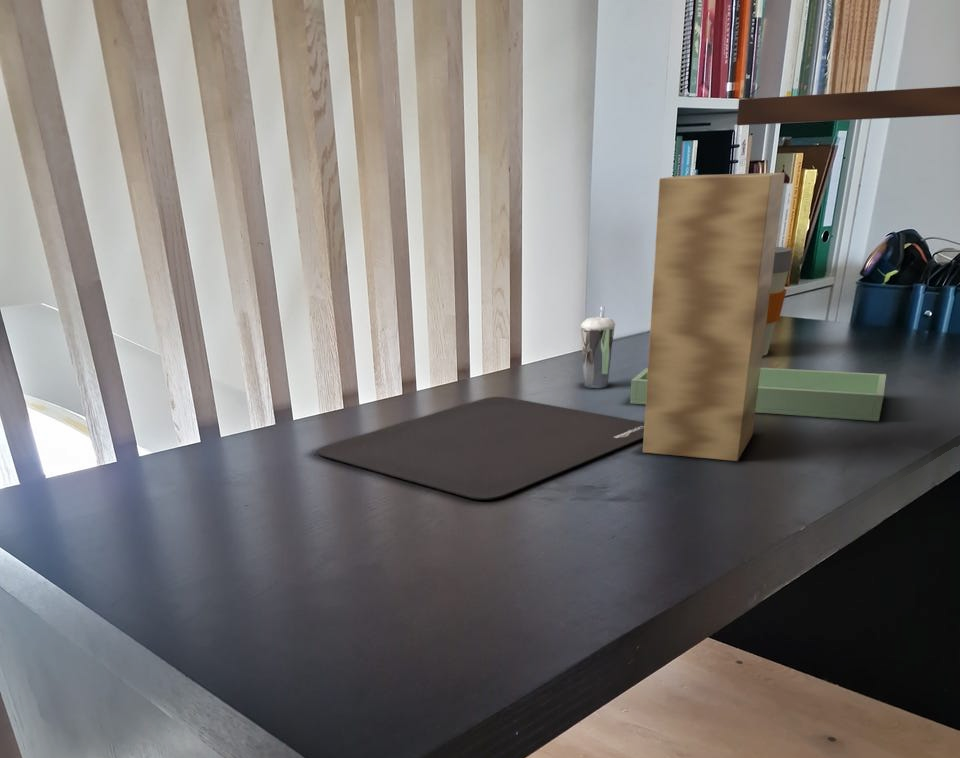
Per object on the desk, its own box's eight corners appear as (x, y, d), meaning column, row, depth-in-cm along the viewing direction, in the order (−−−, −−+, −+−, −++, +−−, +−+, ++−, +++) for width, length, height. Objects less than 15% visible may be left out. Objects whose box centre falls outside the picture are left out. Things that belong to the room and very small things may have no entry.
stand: (752, 435, 96) (785, 172, 84) (737, 461, 88) (771, 175, 76) (664, 428, 100) (682, 175, 87) (642, 452, 92) (659, 178, 79)
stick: (1035, 110, 71) (1042, 82, 70) (1038, 110, 70) (1045, 80, 69) (739, 125, 80) (742, 100, 79) (736, 124, 78) (739, 99, 77)
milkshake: (616, 381, 122) (619, 306, 117) (608, 390, 117) (611, 313, 112) (584, 380, 123) (586, 306, 118) (576, 388, 119) (577, 312, 114)
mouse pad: (487, 503, 79) (487, 501, 79) (308, 452, 95) (308, 450, 95) (668, 428, 99) (668, 426, 99) (495, 396, 115) (495, 395, 115)
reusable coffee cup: (685, 356, 136) (694, 252, 128) (715, 342, 144) (725, 245, 137) (764, 363, 129) (778, 254, 122) (790, 348, 138) (804, 246, 131)
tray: (881, 398, 109) (886, 374, 107) (878, 421, 100) (883, 395, 98) (652, 384, 120) (653, 361, 118) (630, 403, 111) (631, 380, 109)
